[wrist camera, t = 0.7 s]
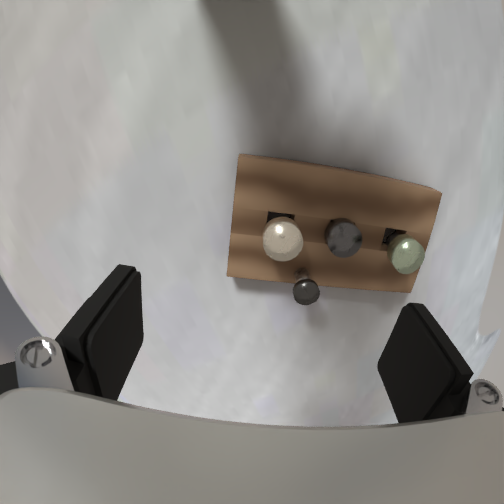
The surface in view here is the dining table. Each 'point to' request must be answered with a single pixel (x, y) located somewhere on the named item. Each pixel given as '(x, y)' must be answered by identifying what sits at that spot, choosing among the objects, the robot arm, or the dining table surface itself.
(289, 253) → the knob cream
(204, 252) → the dining table surface
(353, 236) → the knob charcoal
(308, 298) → the dial post
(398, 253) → the knob sage
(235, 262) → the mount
